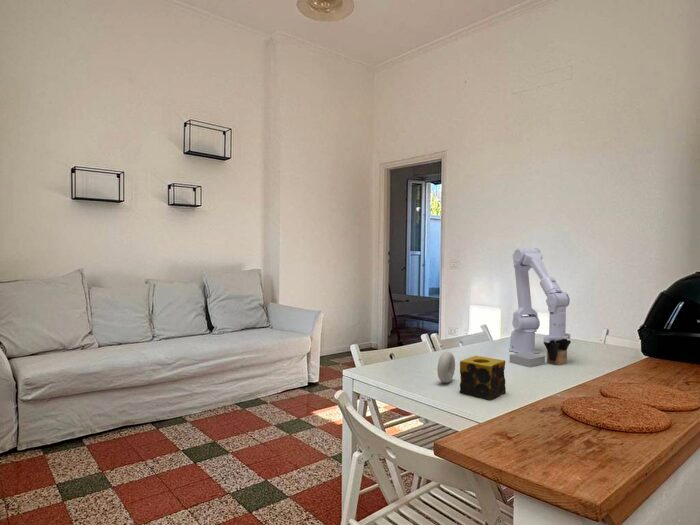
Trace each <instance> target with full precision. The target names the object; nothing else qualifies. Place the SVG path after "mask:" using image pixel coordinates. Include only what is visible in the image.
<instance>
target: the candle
mask: <svg viewBox="0 0 700 525" xmlns="http://www.w3.org/2000/svg"><path fill="white" fill-rule="evenodd" d="M505 369H506V360H505V359H499V358H498V359H497V358H491V357H488V356H487V357H486V356H481V355H480V356H479V355H473V356H470V357H467V358H464V359H462V360H460V361H459V376H460V377H459V379H460V383H459V394H463V395H466V396H470V397H475V398H479V399H484V400H488V401H492V400H494V399H496V398H499V397H501V395H504V394H506V392H507V390H506V389H507V388H506V381H507V380H506V378H505Z"/></svg>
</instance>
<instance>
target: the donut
mask: <svg viewBox="0 0 700 525" xmlns="http://www.w3.org/2000/svg"><path fill="white" fill-rule="evenodd" d="M455 360H456V359H455V356H454V355H453V353H452V352H450V351H444V352H443V353H441V355H440V356H439V359H438V361H437V362H438V363H437V367H436V368H437V377H438V379H439V380H440V382H442V383H445V384H446V383H449V382H451V380H453V377H454V375H455V371H456V361H455Z"/></svg>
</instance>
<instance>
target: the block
mask: <svg viewBox="0 0 700 525" xmlns="http://www.w3.org/2000/svg"><path fill="white" fill-rule="evenodd" d="M546 352H547V353H546V356H547V357H546V363H547V364H552V365H557V366H562V365H565V364H567V363H568V349H567V350H562V349H558V350H557V356H556V361H553V360H550V359H549V355H548V351H547V350H546Z"/></svg>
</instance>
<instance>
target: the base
mask: <svg viewBox="0 0 700 525" xmlns="http://www.w3.org/2000/svg"><path fill="white" fill-rule="evenodd" d="M545 362H546V357H545V355H541V354H538V353H535V354H532V353H527V352H520V353H517V352H514V353H511V354H509V363H511V364H516V365H519V366H523V367H528V368H533V367H538V366H542V365H545Z"/></svg>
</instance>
